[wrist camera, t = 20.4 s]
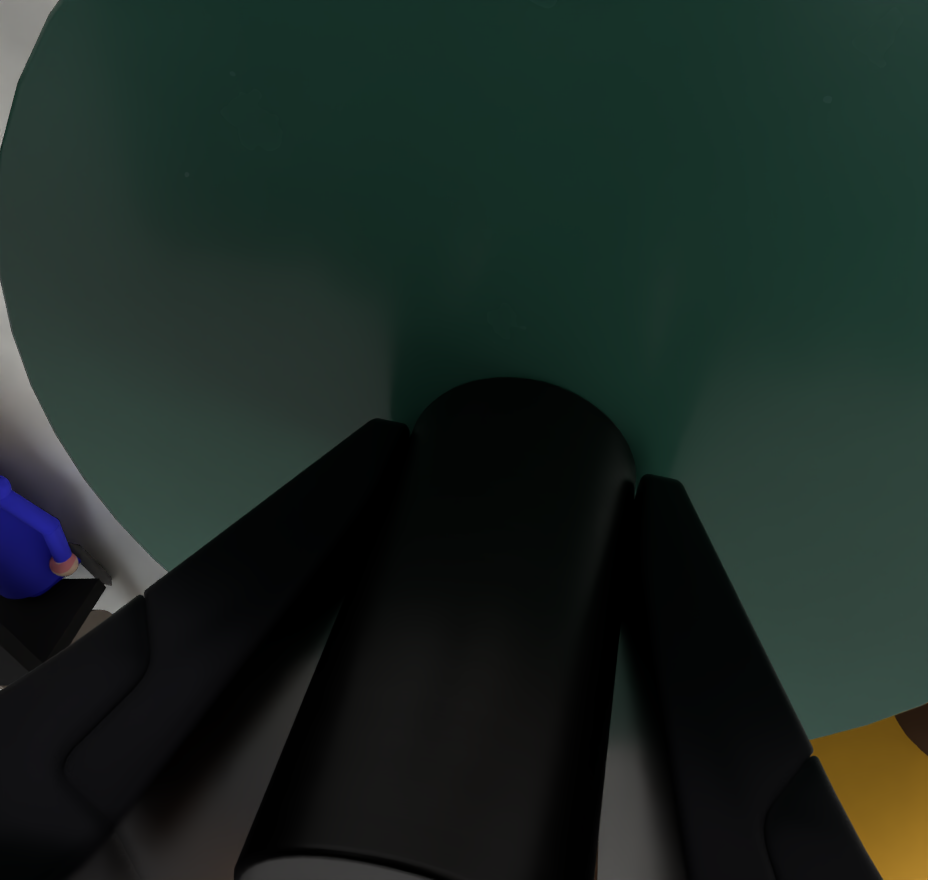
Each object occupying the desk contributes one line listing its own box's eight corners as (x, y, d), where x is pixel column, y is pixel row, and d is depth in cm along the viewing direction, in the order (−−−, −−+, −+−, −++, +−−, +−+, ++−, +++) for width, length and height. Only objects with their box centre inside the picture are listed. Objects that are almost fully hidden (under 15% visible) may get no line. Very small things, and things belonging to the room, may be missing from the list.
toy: (836, 518, 27) (912, 1002, 17) (694, 459, 26) (687, 920, 17) (958, 404, 23) (1142, 937, 13) (794, 333, 23) (861, 830, 13)
